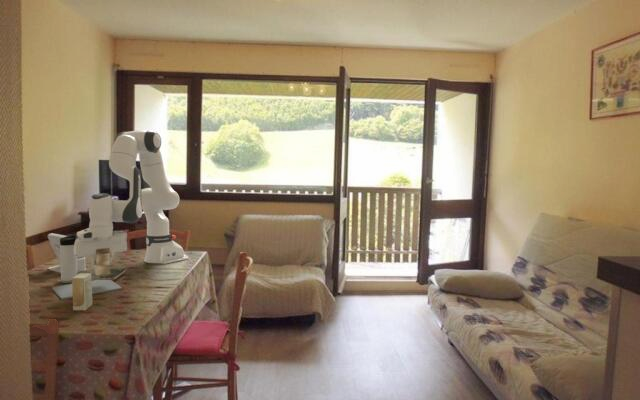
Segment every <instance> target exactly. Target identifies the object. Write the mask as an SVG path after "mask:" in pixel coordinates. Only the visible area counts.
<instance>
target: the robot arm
mask: <svg viewBox="0 0 640 400" xmlns="http://www.w3.org/2000/svg"><path fill="white" fill-rule="evenodd" d="M161 146H162V138H161V136H160V134H159V133H158V132H157V131H155V130H150V129H148V130H144V129H143V130H133V131H132V130H131V131H122V132H119V133H118V134H117V135H116V136H115V139H114V143H113V144H112V148H111V151H110V153H109V159H108V165H109V169H110V170H111V172H112V173H114V174H115V175H117V176H119V177H120V178H124V179H125V180H127V181H128V182H129V197H128V199H126V200H123V199H121V200H120V199H113V198H112V196H111V195H110V193H105V192H103V193H102V192H101V193H95V194H92V195H91V196H90V198H89V205H88V215H89V224H88V227H87V228H85V229H81V230H80V231H77V232H76V240H75V244H74V254H75V255H76V256H77V257H86V256H87V258H88V259H89V261H90V265H91V266H94V265H96V261H95V260H94V258H93V255H96V250H97V249H106V248H110V264H112V263H113V259H114V257H115V255H116V253H120V252H121V253H122V252H126V251H127V250H128V242H127V239H128V233H127V232H126V230H125V231H124V230H123V229H121V230H113V229H114V224H113V223H126V224H136V223H137V222H139V220H141V218H143V217H142V216H143V213H144V216H145V220H146V237H145V243H146V251H145V257H144V260H143V261H144V263H148V264H163V265H164V264H165V265H166V264H171V263H175V262H181V261H185V260H188V259H189V256H188V255H186V254H185V251H184V249H183V247H182V246H181V245H180V244H178V243H177V242H176V241H174V240H175V239H176V238H177V236H176V235H174V234H171V233H170V220H169V218H168V217H167V216H166V215H165V213H164V211H168V210H174V209H176V208H177V207H179V203H180V196H179V194H178V192H177V191H175V190H174V189H173V187H172V186H171V184H170V182H169V181H168V178H167V176H166V171H165V167H164V161H163V157H162V152H161V150H160V148H161ZM137 158H139V165H140V169H139V168H138V167H137V163H136V162H137ZM142 179H143V181H144V182H145V183H146V184H148V186H149V187H147V188H146V187H145V188H142Z"/></svg>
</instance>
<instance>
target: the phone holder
mask: <svg viewBox="0 0 640 400" xmlns="http://www.w3.org/2000/svg"><path fill="white" fill-rule="evenodd" d="M63 237H67V235H64V234H60V233H52V232H51V233H49V234H48V233H47V239H48V241H49V244H50V245H51V247H52V250H53V252H54V255H55V257H56V259H57V261H58V263H59V265H55V266H49V267H47V270H48V269H49V270H48V271H52V272H55V273H60V274H61V262H60V239H61V238H63ZM85 270H86V271H87V268H86V256H80V257H77V273H82V272H85ZM81 271H82V272H81Z"/></svg>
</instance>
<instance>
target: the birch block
mask: <svg viewBox="0 0 640 400" xmlns="http://www.w3.org/2000/svg"><path fill="white" fill-rule="evenodd" d="M110 256H111V255H110V248H106V249H97V250H96V255H93V258H92V259H93V260H95V261H96V265H93V274H94V275H96V276H103V275H110V274H111V263H110Z"/></svg>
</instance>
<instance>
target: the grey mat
mask: <svg viewBox="0 0 640 400" xmlns="http://www.w3.org/2000/svg"><path fill="white" fill-rule="evenodd" d="M122 289H123V288H122V286H120V285H119V284H117V283H116V282H115V281H113V280H112V279H111V280H99V279H94V280H93V279H92V295H95V294H102V293H107V292H113V291H120V290H122ZM51 290H53V292H54V293H55V295H57V296H58V297H59V299H60V300H61V301H64V300H68V299H73V291H72V283H67V284H63V285H54V286H52V287H51Z"/></svg>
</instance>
